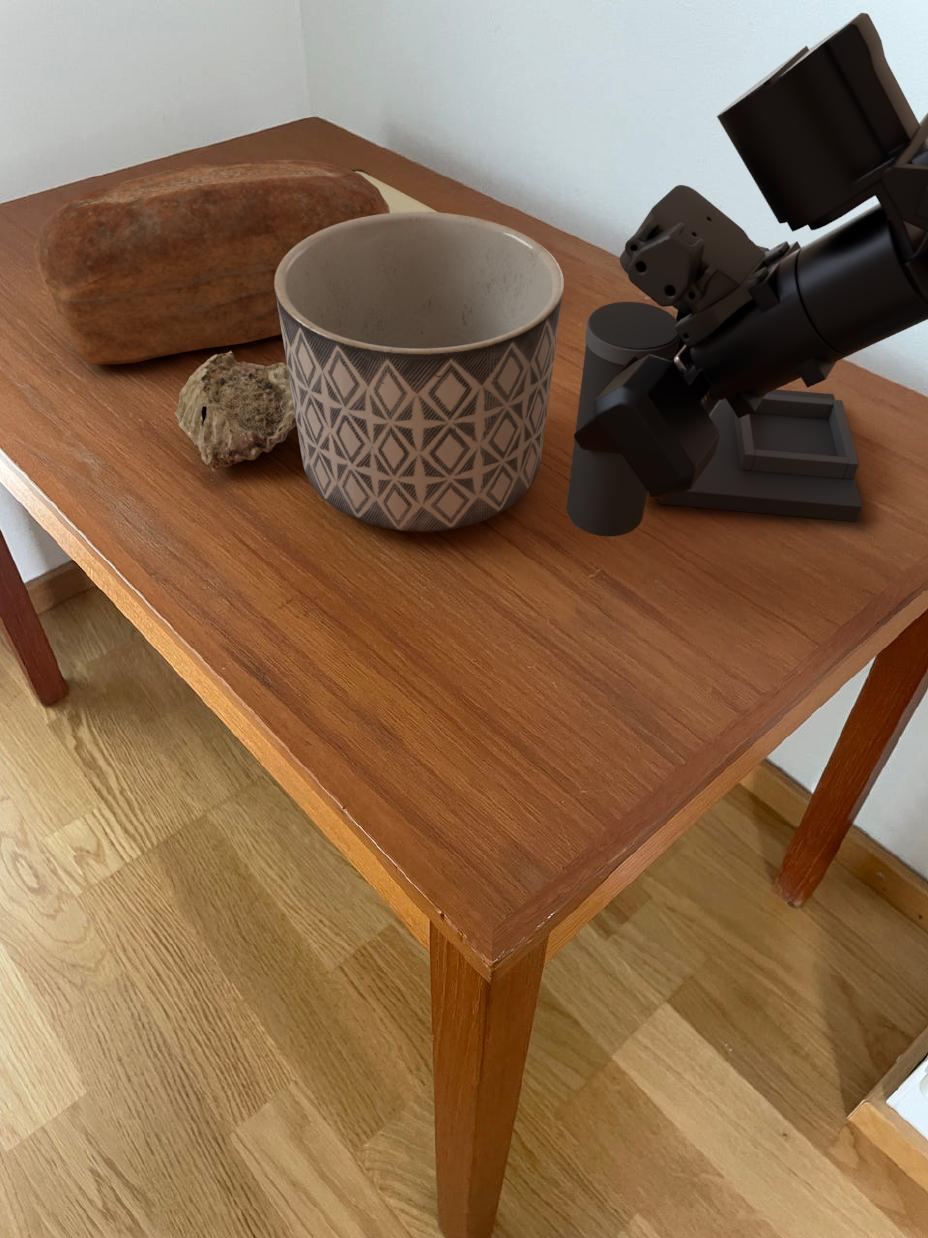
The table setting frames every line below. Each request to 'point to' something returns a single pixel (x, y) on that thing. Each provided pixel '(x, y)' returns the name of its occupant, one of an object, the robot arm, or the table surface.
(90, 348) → the bread
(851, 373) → the table surface
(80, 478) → the table surface
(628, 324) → the dark grey cylinder
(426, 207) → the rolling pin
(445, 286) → the planter
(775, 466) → the base pad
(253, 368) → the seashell
